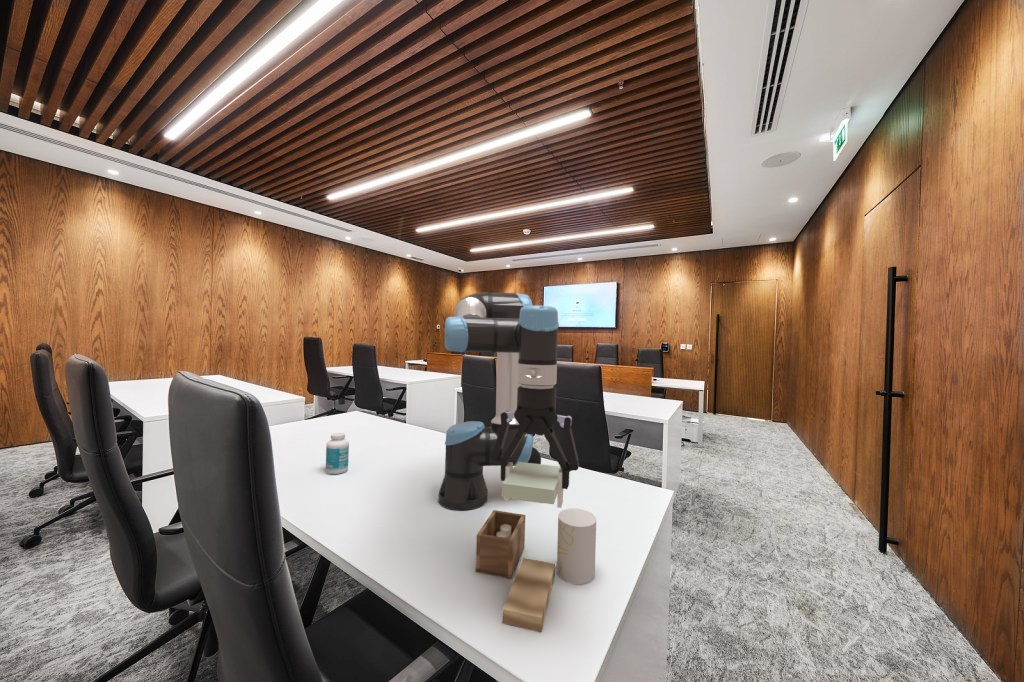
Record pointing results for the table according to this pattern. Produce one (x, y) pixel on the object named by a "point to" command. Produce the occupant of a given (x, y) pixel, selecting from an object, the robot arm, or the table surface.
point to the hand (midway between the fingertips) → (533, 500)
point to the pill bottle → (337, 454)
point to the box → (500, 544)
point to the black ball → (534, 457)
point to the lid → (532, 483)
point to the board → (529, 595)
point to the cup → (576, 546)
